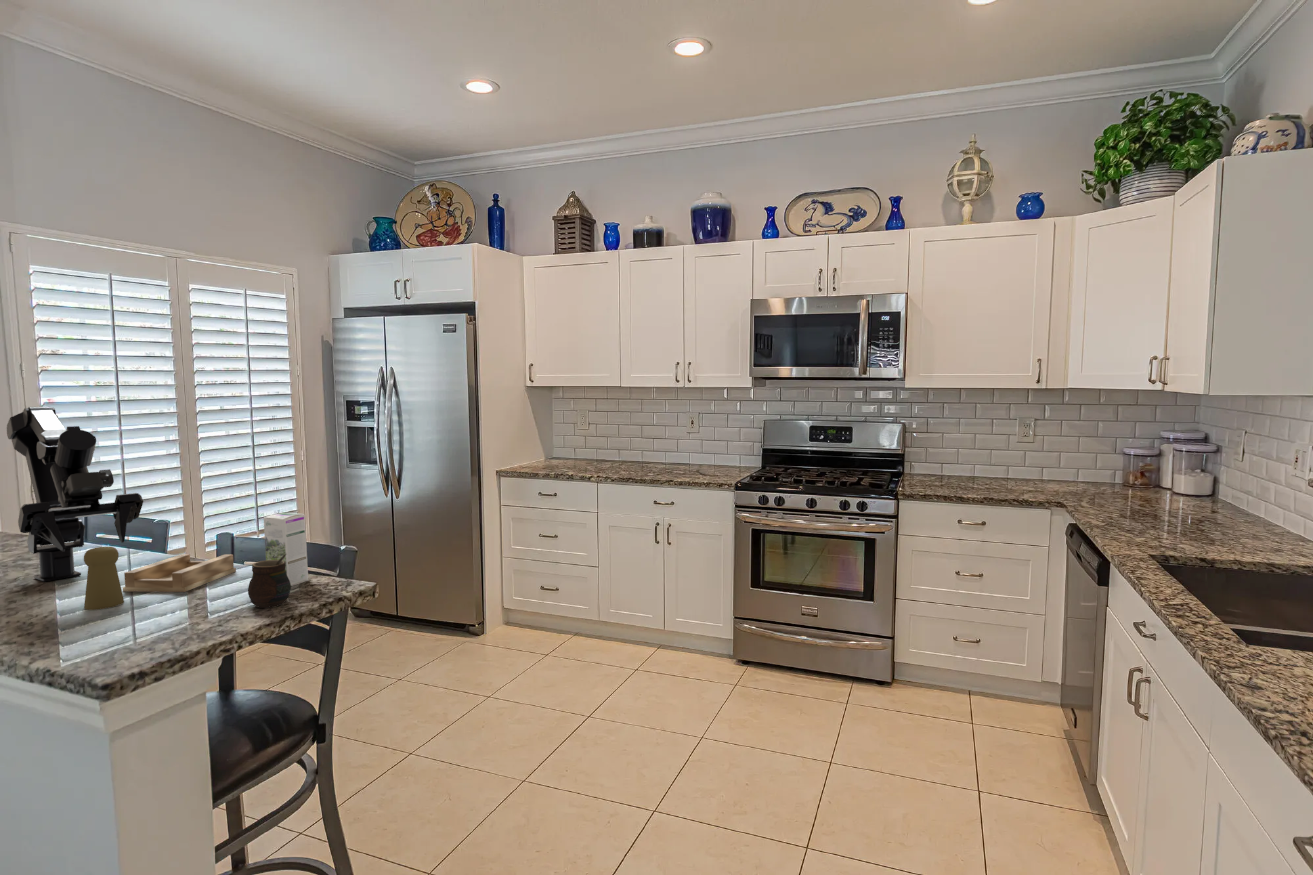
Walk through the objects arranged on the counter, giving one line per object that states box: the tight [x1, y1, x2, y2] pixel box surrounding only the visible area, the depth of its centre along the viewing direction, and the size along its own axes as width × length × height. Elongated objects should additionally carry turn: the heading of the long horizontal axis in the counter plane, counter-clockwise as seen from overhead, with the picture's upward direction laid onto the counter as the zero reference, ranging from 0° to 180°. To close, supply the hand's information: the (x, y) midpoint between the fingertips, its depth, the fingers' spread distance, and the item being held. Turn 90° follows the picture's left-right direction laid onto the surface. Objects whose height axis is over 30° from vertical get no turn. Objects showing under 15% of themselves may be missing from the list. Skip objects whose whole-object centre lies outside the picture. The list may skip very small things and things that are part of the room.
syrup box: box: [263, 512, 309, 587], centre depth 149 cm, size 6×6×14 cm
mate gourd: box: [247, 554, 292, 609], centre depth 134 cm, size 7×8×10 cm
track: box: [122, 553, 237, 593], centre depth 152 cm, size 16×13×4 cm
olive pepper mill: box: [83, 546, 125, 611], centre depth 135 cm, size 6×6×11 cm
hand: (94, 545), depth 137 cm, fingers open, 9 cm apart
